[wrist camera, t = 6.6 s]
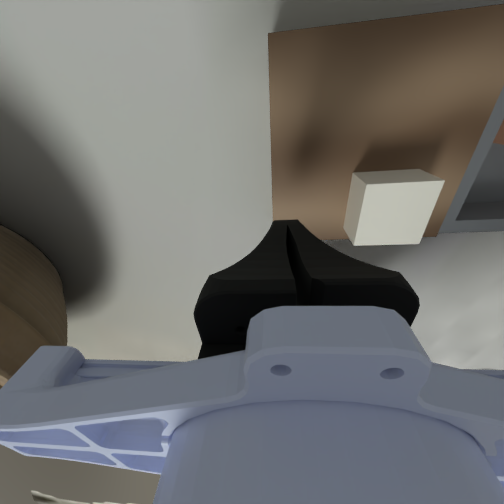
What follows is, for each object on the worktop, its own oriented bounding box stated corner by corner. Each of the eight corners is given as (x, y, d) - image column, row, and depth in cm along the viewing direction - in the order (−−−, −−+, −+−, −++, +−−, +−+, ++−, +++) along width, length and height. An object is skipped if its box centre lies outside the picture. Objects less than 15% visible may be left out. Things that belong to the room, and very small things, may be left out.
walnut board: (408, 213, 20) (436, 236, 16) (273, 219, 21) (273, 241, 18) (473, 25, 13) (542, -2, 10) (268, 49, 14) (268, 33, 11)
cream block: (400, 225, 16) (419, 243, 14) (343, 227, 16) (353, 245, 14) (418, 168, 14) (444, 180, 12) (352, 172, 14) (366, 184, 12)
